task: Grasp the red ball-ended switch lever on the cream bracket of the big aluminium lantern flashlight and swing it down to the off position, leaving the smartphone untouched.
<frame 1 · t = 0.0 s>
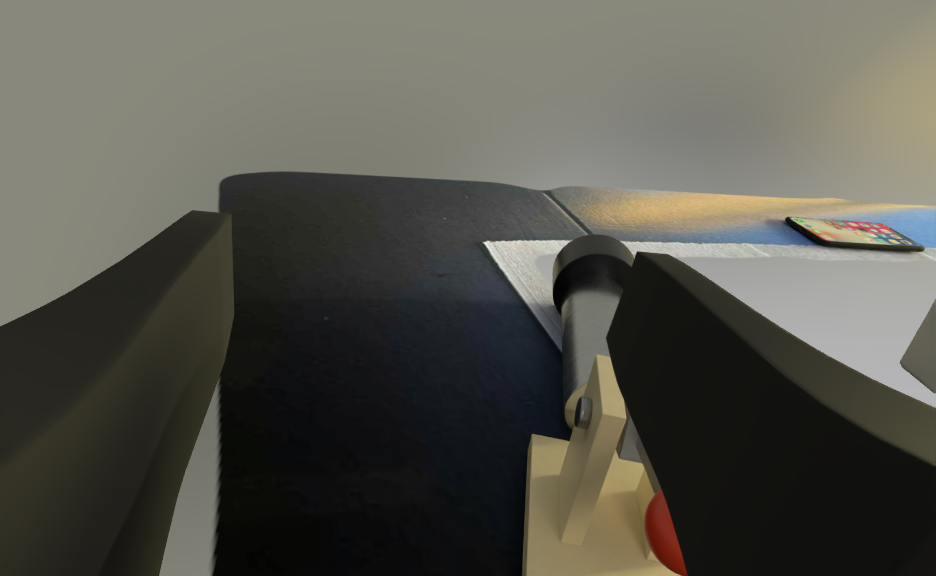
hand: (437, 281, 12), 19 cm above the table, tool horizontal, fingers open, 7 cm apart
switch bracket: (603, 533, 33), on the table
flashlight: (590, 380, 44), on the table
switch lever: (664, 469, 25), point 8 cm above the table, hinge at 15.0°
smartphone: (852, 237, 79), on the table
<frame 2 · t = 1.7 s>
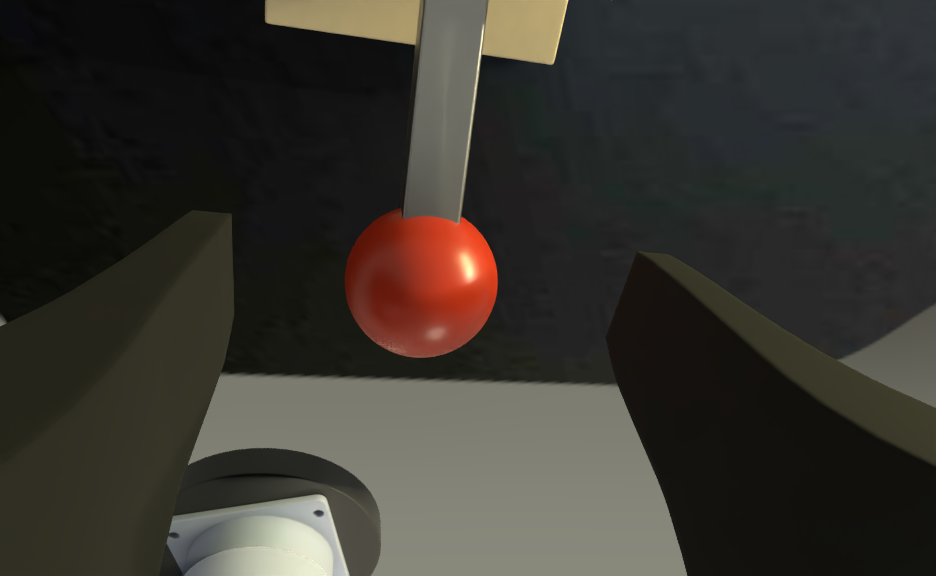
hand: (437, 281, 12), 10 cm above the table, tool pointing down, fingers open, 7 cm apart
switch lever: (445, 73, 12), point 8 cm above the table, hinge at 15.0°
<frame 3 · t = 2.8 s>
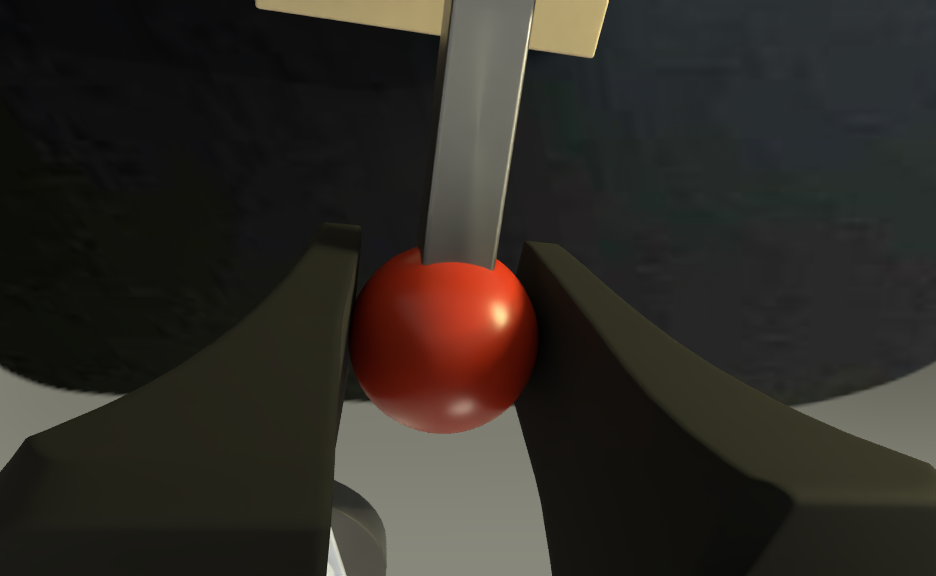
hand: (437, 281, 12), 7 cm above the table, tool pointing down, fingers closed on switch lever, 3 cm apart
switch lever: (478, 79, 9), point 8 cm above the table, hinge at 15.0°, touching gripper
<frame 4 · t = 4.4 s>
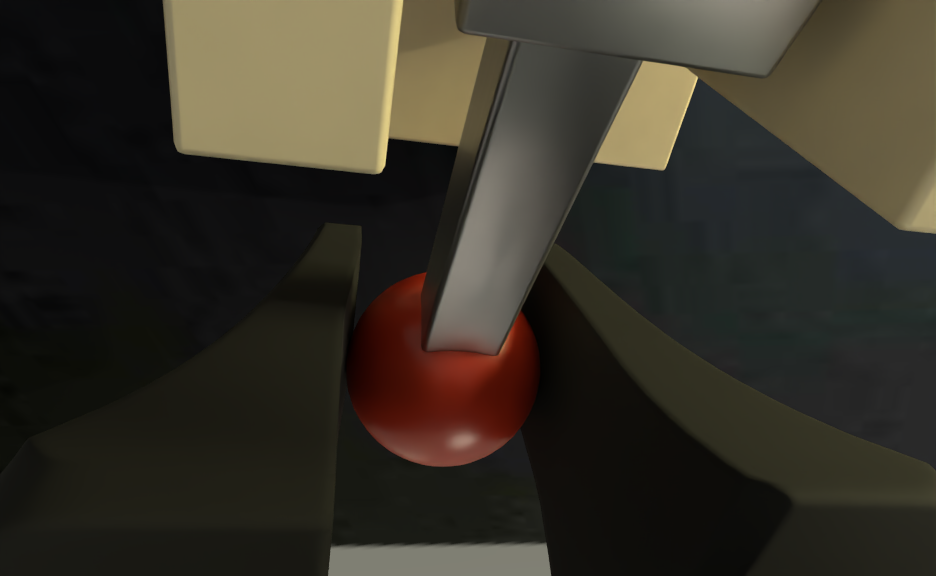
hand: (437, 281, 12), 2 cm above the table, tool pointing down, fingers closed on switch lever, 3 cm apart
switch lever: (505, 196, 7), point 6 cm above the table, hinge at -21.4°, touching gripper
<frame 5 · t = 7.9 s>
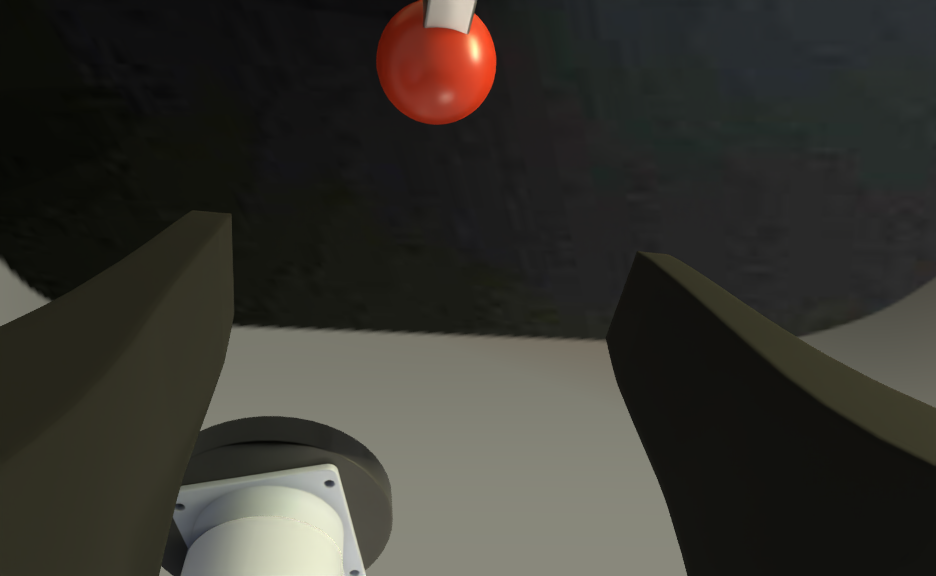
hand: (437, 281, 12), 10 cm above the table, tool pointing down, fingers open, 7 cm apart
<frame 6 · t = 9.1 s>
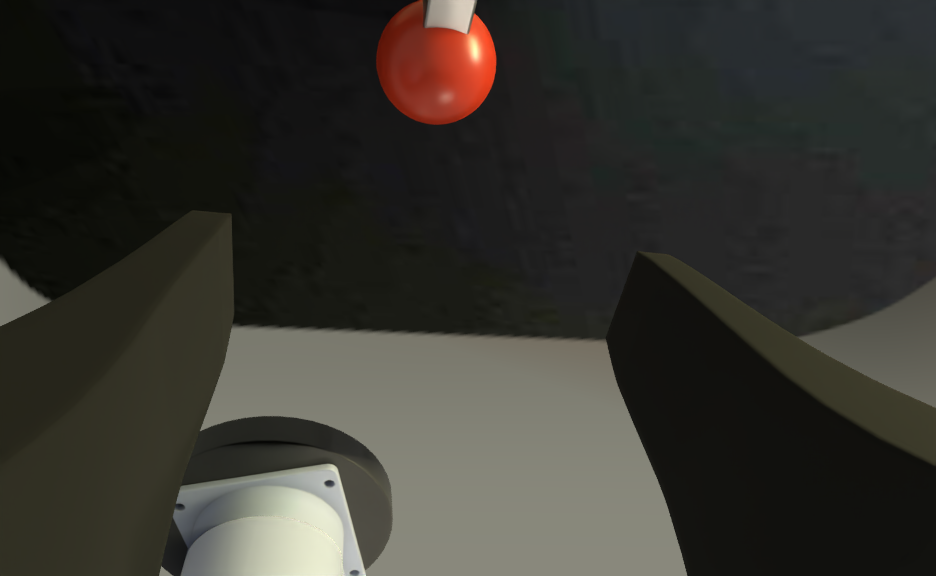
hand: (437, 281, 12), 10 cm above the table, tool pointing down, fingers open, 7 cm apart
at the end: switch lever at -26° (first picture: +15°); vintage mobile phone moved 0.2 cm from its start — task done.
